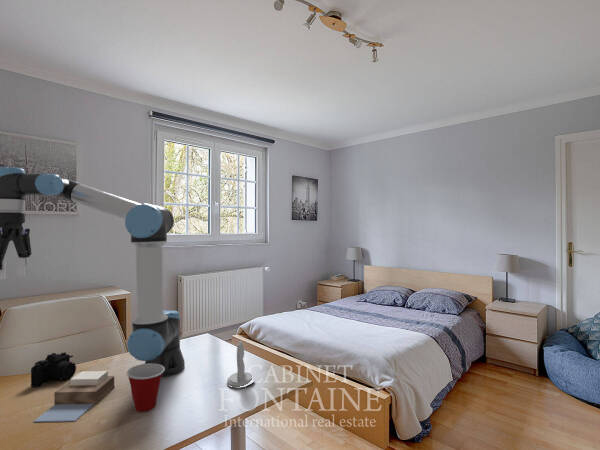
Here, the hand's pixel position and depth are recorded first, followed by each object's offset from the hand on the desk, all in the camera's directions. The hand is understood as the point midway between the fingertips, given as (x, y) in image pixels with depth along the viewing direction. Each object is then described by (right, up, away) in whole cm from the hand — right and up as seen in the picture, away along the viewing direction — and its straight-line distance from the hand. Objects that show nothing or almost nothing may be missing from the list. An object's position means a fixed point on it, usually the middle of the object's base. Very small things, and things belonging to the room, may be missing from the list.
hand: (11, 277), depth 116 cm
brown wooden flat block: (+29, -39, -4) cm, 49 cm away
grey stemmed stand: (+79, -39, +5) cm, 88 cm away
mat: (+29, -39, -15) cm, 51 cm away
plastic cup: (+53, -39, -12) cm, 66 cm away
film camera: (+10, -39, +8) cm, 42 cm away
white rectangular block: (+29, -35, -2) cm, 45 cm away
